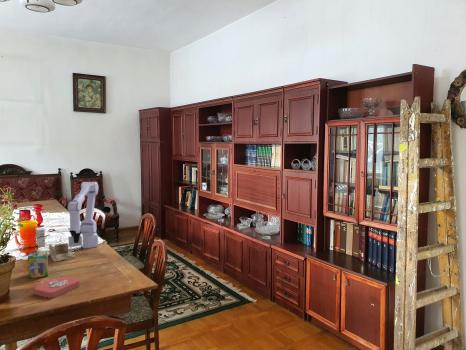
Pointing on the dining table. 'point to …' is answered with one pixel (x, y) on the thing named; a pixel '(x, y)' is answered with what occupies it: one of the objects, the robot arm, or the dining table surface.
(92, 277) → the dining table surface
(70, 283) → the pink flat block
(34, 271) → the chalk box
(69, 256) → the birch shelf bay
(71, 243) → the slate boxed book
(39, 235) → the ink box
